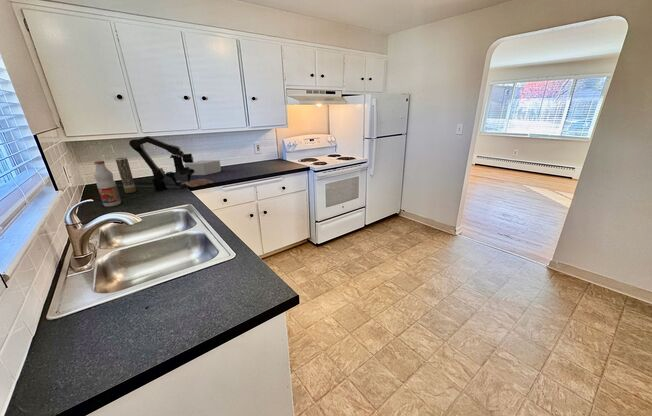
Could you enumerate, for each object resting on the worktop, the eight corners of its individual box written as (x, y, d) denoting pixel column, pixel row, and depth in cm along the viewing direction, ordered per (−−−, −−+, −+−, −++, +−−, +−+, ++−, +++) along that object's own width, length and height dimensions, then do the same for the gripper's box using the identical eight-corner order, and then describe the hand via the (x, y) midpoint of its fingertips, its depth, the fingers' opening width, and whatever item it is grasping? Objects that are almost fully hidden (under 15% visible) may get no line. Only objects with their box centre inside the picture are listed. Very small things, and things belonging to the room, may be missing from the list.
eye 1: (177, 186, 211) (176, 182, 210) (175, 185, 213) (174, 181, 212) (182, 185, 213) (182, 181, 212) (181, 184, 216) (180, 180, 215)
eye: (182, 188, 205) (181, 184, 204) (180, 187, 207) (179, 183, 206) (187, 187, 208) (186, 183, 207) (185, 186, 210) (184, 182, 209)
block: (186, 173, 249) (183, 162, 245) (220, 169, 262) (218, 159, 259) (187, 177, 237) (184, 165, 233) (222, 172, 250) (220, 161, 246)
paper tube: (130, 193, 193) (120, 159, 184) (123, 193, 195) (112, 159, 186) (138, 190, 200) (129, 157, 191) (131, 190, 201) (121, 157, 192)
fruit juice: (125, 202, 176) (112, 160, 165) (109, 207, 167) (95, 163, 157) (115, 201, 179) (102, 159, 168) (100, 205, 171) (85, 162, 160)
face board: (191, 187, 207) (191, 186, 207) (182, 183, 219) (182, 182, 218) (214, 182, 219) (213, 181, 219) (204, 178, 231) (204, 177, 230)
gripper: (169, 167, 189) (173, 188, 195) (195, 162, 202) (199, 182, 208) (163, 164, 196) (168, 185, 202) (189, 161, 209) (193, 180, 215)
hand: (182, 183), depth 206 cm, fingers open, 9 cm apart
